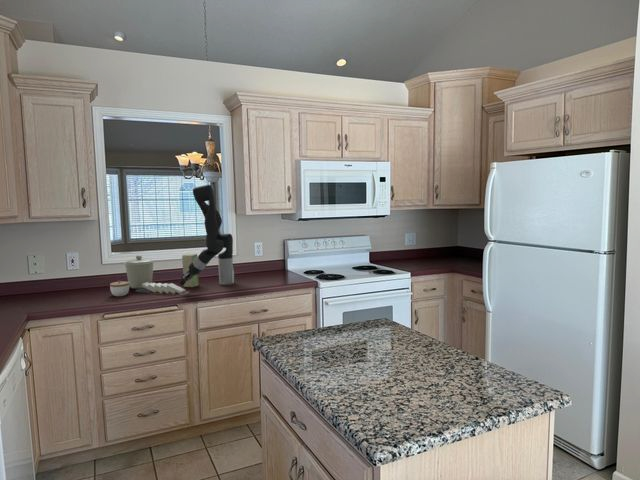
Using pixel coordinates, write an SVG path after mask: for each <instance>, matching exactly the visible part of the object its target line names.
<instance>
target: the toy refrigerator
mask: <svg viewBox="0 0 640 480" xmlns="http://www.w3.org/2000/svg"><path fill="white" fill-rule="evenodd" d="M196 257H198V253H186V254H182V256H181V258H182V275H183V274H184V275H185V274H186V272H187V271H188V270H189V265H190V264H191V263H192V262H193V261H194V259H195V258H196ZM198 286H199V274H197V275H195V276H194V277H193V278H191V279H190V280H188V281H187V282H186V283H185V284H184V285H183V288H186V287H187V288H194V287H198Z"/></svg>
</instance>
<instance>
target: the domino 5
mask: <svg viewBox="0 0 640 480" xmlns="http://www.w3.org/2000/svg"><path fill="white" fill-rule="evenodd" d="M168 284H169V283H167V282H165V283H161V286H160V287H161V288H163V289H165V290H167V291H169V292H171V293H173V294H175V293H177V292H175V291H173V290H171V289H169V288H167V287H166V286H167V285H168Z"/></svg>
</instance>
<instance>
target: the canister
mask: <svg viewBox="0 0 640 480" xmlns="http://www.w3.org/2000/svg"><path fill="white" fill-rule="evenodd" d="M154 263H155V260H152V259H150V258H143V256H142V255H141V254H137V255H136V256H135V258H134V259H130V260H126V261H125V262H124V263H123V265H124V266H125V270H126V276H127V277H126V278H127V282H129V288H131V289H135V290H138V289H144V287H142V284H143V283H146V282H148V283H153V275H154Z"/></svg>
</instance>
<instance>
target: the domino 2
mask: <svg viewBox="0 0 640 480" xmlns="http://www.w3.org/2000/svg"><path fill="white" fill-rule="evenodd" d="M148 284H150V283H148V282H146V283H143V284H142V287H144V288H146V289H148V290H150V291H152V292H154V293H156V292H158V291H156V290H154V289H152V288H150V287H148ZM144 288H143V289H144Z"/></svg>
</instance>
